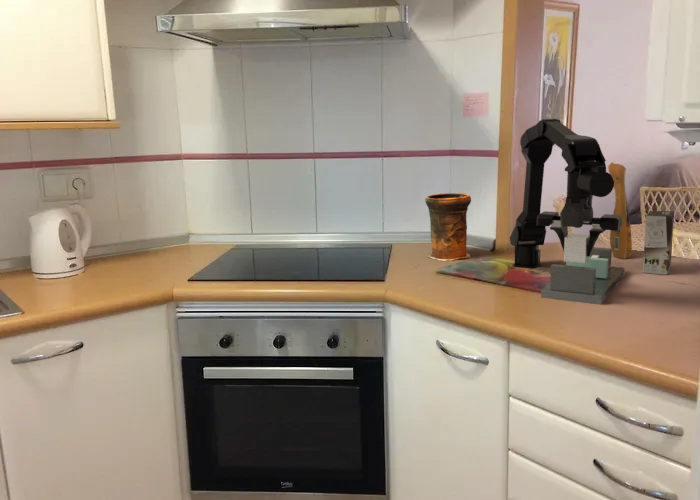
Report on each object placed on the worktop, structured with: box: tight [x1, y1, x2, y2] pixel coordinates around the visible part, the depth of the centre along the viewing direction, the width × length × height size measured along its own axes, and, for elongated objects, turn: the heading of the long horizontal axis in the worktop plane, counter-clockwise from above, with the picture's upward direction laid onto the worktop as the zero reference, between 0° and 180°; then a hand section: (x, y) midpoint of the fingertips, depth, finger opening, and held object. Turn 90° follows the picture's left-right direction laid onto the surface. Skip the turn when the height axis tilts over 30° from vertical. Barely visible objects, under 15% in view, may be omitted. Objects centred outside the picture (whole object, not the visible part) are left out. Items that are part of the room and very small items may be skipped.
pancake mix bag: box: [607, 162, 633, 260], centre depth 187 cm, size 7×19×28 cm, turn 162°
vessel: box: [424, 192, 472, 262], centre depth 194 cm, size 14×14×20 cm
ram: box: [565, 246, 613, 278], centre depth 163 cm, size 10×14×5 cm
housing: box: [563, 233, 590, 263], centre depth 148 cm, size 5×5×6 cm
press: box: [540, 263, 625, 305], centre depth 157 cm, size 14×29×8 cm, turn 147°
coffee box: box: [642, 210, 675, 276], centre depth 167 cm, size 9×6×16 cm
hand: (577, 255), depth 149 cm, fingers closed on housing, 5 cm apart
